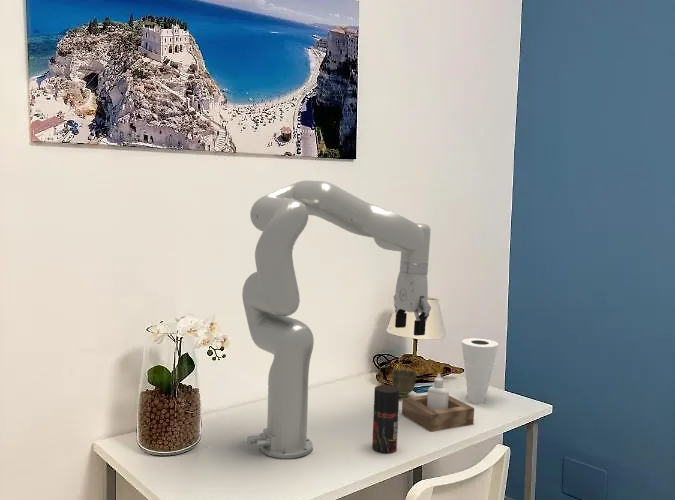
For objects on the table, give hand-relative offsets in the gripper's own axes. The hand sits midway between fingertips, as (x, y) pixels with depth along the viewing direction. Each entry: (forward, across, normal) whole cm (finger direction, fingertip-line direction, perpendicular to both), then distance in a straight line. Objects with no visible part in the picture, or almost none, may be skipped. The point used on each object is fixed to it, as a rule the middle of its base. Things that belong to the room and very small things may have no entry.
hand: (409, 331), depth 182 cm
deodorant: (+25, +17, -16) cm, 34 cm away
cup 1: (+24, -15, +9) cm, 30 cm away
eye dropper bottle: (+23, +4, +8) cm, 25 cm away
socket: (+24, +4, +8) cm, 26 cm away
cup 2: (+24, -4, +28) cm, 37 cm away
